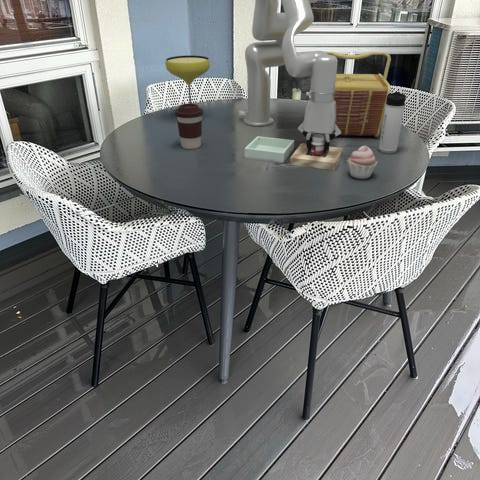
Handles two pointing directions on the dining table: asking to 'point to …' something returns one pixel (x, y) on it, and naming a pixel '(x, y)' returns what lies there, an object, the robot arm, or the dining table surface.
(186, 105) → the coffee cup
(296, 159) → the socket block
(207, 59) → the cocktail glass
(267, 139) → the tray
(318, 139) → the pill bottle
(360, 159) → the cupcake
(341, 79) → the picnic basket
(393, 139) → the travel mug
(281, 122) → the dining table surface
